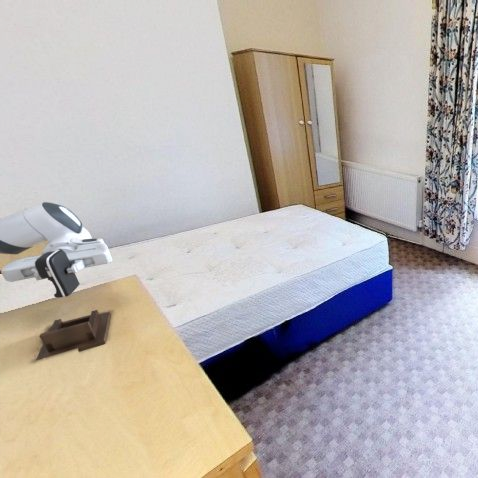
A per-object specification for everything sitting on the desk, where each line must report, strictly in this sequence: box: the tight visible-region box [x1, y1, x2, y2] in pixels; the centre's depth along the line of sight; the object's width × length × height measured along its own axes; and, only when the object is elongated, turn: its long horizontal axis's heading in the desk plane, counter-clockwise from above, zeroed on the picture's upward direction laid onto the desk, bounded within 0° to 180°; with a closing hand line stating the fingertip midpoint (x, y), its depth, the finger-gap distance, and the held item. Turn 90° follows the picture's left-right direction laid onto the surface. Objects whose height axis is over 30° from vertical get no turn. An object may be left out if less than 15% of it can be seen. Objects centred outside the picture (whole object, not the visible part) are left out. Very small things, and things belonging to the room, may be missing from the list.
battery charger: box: [35, 250, 80, 298], centre depth 84 cm, size 7×4×11 cm, turn 25°
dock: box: [35, 309, 112, 361], centre depth 84 cm, size 12×15×6 cm
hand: (55, 274), depth 83 cm, fingers closed on battery charger, 4 cm apart
